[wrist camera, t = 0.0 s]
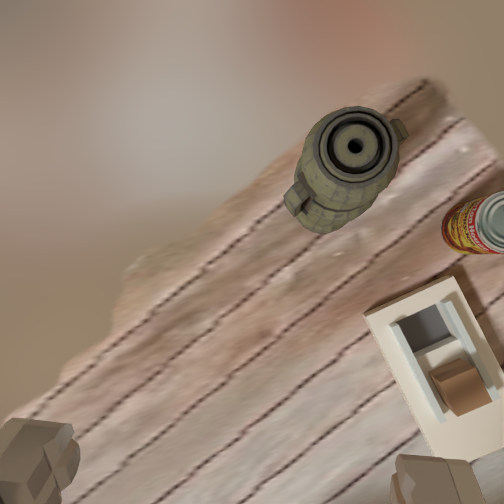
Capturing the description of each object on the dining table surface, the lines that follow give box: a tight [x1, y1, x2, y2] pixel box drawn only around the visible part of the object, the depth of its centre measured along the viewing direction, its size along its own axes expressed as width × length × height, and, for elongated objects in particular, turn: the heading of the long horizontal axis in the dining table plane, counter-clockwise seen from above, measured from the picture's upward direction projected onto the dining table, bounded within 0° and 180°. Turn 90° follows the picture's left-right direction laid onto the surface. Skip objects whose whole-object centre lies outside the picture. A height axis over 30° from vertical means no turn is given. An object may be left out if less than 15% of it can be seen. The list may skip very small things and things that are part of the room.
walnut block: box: [428, 358, 493, 417], centre depth 56 cm, size 5×5×5 cm
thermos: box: [284, 106, 409, 233], centre depth 46 cm, size 9×12×35 cm
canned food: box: [441, 191, 504, 254], centre depth 55 cm, size 8×8×12 cm
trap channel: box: [362, 275, 504, 462], centre depth 59 cm, size 25×14×5 cm, turn 26°
